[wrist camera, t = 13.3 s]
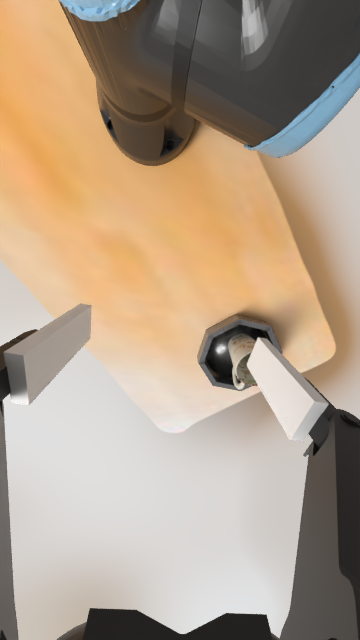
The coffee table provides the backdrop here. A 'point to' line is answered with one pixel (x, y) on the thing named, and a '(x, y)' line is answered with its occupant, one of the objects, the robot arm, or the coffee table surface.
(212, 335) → the gray octagonal container
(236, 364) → the mug
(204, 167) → the coffee table surface
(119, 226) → the coffee table surface
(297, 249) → the coffee table surface
